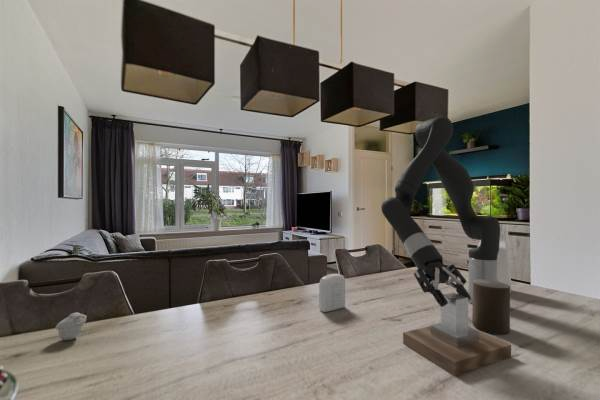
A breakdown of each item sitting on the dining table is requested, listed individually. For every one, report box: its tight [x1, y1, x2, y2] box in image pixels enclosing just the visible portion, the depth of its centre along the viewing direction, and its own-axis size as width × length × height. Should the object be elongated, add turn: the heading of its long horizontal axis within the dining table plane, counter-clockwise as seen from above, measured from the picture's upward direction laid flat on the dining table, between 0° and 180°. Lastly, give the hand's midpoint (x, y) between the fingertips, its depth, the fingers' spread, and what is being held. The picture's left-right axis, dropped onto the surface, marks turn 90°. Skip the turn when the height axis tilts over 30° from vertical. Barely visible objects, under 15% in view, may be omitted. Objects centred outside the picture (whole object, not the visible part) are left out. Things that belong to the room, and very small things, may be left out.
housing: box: [430, 292, 479, 348], centre depth 77 cm, size 8×8×11 cm
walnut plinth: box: [402, 325, 512, 376], centre depth 77 cm, size 20×16×3 cm
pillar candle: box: [471, 279, 511, 336], centre depth 90 cm, size 10×10×15 cm
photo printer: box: [318, 273, 346, 313], centre depth 105 cm, size 10×4×12 cm, turn 123°
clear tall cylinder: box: [477, 230, 512, 293], centre depth 127 cm, size 12×12×26 cm
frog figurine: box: [55, 312, 88, 341], centre depth 82 cm, size 6×7×7 cm
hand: (456, 302), depth 76 cm, fingers open, 8 cm apart
